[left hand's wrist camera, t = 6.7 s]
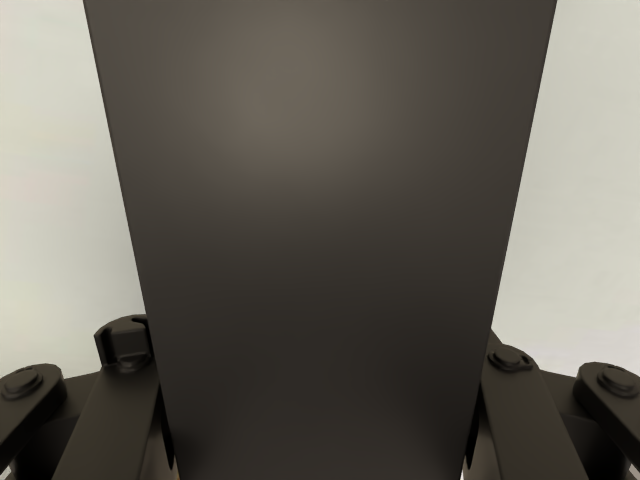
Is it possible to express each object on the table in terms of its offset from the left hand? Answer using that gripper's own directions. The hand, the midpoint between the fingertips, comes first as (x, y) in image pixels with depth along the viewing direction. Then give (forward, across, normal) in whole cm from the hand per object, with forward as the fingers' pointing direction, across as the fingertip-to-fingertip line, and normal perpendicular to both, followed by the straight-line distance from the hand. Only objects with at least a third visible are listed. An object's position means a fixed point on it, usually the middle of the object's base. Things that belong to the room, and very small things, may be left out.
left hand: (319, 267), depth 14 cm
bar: (+1, 0, -8) cm, 8 cm away
